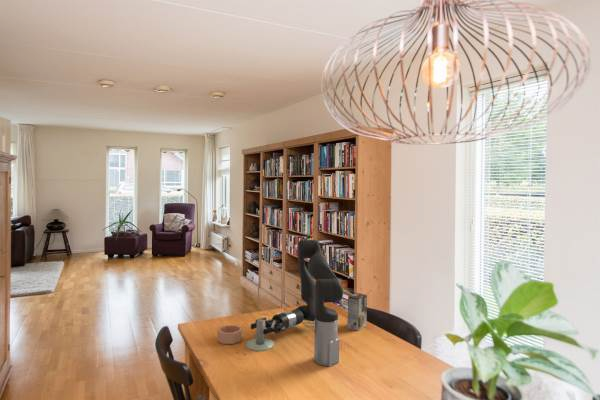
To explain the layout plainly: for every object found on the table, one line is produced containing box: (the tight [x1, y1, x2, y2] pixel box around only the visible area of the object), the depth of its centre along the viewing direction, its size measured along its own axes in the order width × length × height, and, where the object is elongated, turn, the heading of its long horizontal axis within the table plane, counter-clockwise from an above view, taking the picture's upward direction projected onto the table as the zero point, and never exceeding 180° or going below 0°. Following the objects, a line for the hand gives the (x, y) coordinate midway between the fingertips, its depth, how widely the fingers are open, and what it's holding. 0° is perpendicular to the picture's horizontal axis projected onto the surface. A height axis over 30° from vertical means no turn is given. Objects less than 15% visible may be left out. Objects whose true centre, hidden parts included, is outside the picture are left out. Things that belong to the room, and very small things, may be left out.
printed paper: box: [276, 312, 315, 331], centre depth 203 cm, size 30×30×2 cm
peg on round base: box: [245, 318, 275, 352], centre depth 175 cm, size 12×12×11 cm
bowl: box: [217, 324, 243, 345], centre depth 180 cm, size 10×10×5 cm
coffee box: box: [347, 292, 368, 331], centre depth 200 cm, size 9×6×16 cm
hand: (257, 329), depth 173 cm, fingers open, 8 cm apart
